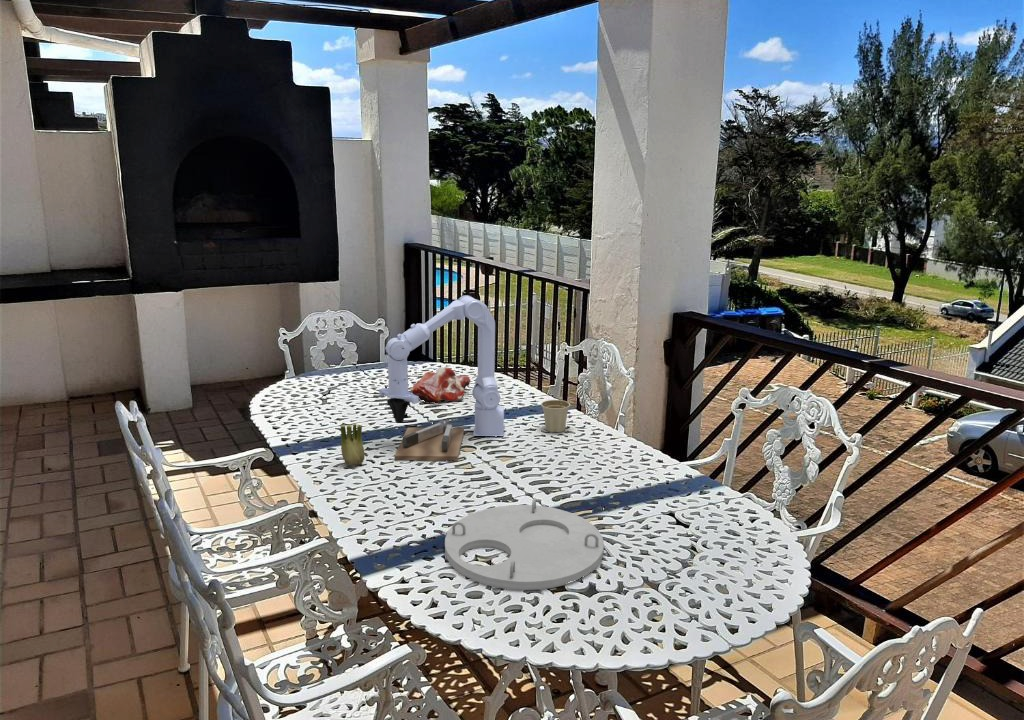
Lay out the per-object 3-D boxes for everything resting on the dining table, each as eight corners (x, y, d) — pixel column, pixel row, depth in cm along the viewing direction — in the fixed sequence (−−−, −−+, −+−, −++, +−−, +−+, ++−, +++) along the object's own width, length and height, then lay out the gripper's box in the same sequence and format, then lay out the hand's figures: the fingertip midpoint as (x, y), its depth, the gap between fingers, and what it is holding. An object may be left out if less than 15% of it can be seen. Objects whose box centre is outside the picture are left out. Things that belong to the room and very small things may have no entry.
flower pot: (536, 432, 233) (536, 406, 230) (546, 423, 241) (546, 398, 239) (564, 436, 229) (565, 410, 227) (573, 427, 238) (574, 401, 235)
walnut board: (464, 432, 232) (464, 428, 231) (457, 461, 208) (457, 456, 208) (407, 432, 232) (407, 427, 231) (394, 460, 209) (394, 455, 208)
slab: (598, 599, 141) (599, 576, 140) (425, 582, 147) (424, 559, 146) (607, 519, 174) (607, 500, 173) (465, 507, 180) (465, 489, 179)
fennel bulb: (340, 465, 205) (338, 425, 202) (351, 459, 209) (349, 420, 206) (357, 469, 202) (355, 428, 200) (367, 463, 207) (365, 423, 204)
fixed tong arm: (447, 433, 225) (447, 424, 225) (452, 433, 225) (452, 424, 225) (442, 451, 211) (441, 441, 210) (447, 451, 211) (447, 441, 210)
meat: (466, 405, 260) (466, 378, 257) (407, 405, 260) (406, 378, 258) (471, 389, 280) (471, 364, 277) (416, 388, 280) (416, 363, 278)
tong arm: (443, 428, 230) (443, 419, 229) (450, 430, 228) (450, 420, 227) (401, 446, 215) (401, 435, 214) (408, 448, 213) (407, 437, 213)
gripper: (371, 377, 218) (372, 420, 221) (406, 385, 209) (407, 430, 213) (388, 372, 223) (389, 414, 226) (423, 380, 215) (424, 424, 218)
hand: (399, 421), depth 220 cm, fingers closed
